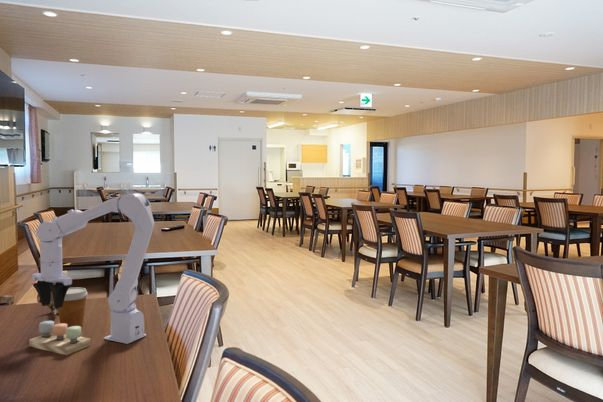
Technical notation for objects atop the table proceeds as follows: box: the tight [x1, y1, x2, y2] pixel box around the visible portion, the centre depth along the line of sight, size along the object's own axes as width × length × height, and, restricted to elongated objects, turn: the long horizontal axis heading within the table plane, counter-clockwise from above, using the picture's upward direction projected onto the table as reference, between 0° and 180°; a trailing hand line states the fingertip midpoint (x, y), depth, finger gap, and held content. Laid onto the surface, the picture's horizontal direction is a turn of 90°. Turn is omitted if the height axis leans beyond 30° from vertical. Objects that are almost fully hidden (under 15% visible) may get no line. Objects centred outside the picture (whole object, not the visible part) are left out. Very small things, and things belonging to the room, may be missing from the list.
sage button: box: [66, 326, 82, 344], centre depth 128 cm, size 4×4×4 cm
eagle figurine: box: [46, 300, 58, 316], centre depth 161 cm, size 8×7×9 cm
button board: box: [28, 332, 92, 356], centre depth 130 cm, size 15×8×2 cm, turn 66°
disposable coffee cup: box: [57, 286, 89, 328], centre depth 146 cm, size 10×10×12 cm
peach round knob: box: [52, 322, 67, 341], centre depth 130 cm, size 4×4×4 cm
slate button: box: [38, 320, 55, 338], centre depth 132 cm, size 4×4×4 cm
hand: (52, 306), depth 135 cm, fingers open, 5 cm apart
